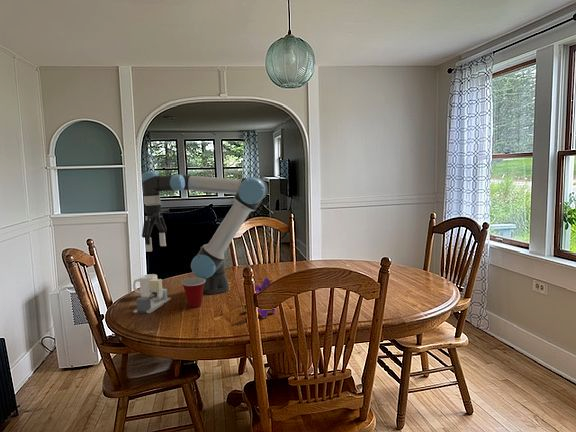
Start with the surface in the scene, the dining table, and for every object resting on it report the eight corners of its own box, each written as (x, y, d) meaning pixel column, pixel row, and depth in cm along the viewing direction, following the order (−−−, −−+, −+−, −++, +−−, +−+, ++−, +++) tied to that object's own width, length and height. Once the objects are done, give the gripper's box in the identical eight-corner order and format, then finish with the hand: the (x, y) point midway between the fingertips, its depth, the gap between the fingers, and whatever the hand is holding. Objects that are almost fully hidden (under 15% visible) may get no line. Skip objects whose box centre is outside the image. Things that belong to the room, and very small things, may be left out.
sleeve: (154, 297, 205) (153, 278, 205) (163, 297, 205) (162, 279, 204) (150, 299, 202) (148, 281, 201) (159, 299, 201) (158, 281, 200)
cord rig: (155, 298, 210) (154, 286, 209) (170, 299, 209) (169, 287, 208) (133, 312, 190) (132, 299, 190) (150, 313, 189) (149, 299, 188)
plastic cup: (180, 310, 191) (179, 283, 190) (184, 303, 202) (183, 277, 201) (205, 309, 192) (204, 282, 191) (208, 301, 203) (206, 276, 201)
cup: (155, 298, 211) (154, 278, 210) (130, 299, 211) (129, 278, 210) (160, 293, 219) (159, 273, 218) (136, 294, 219) (135, 274, 218)
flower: (241, 329, 180) (264, 319, 173) (226, 296, 182) (249, 284, 175) (262, 318, 192) (284, 308, 185) (248, 287, 194) (269, 276, 187)
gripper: (157, 202, 219) (161, 244, 221) (131, 207, 195) (135, 253, 197) (171, 202, 218) (175, 243, 220) (146, 206, 193) (150, 253, 195)
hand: (156, 248), depth 208 cm, fingers open, 13 cm apart
